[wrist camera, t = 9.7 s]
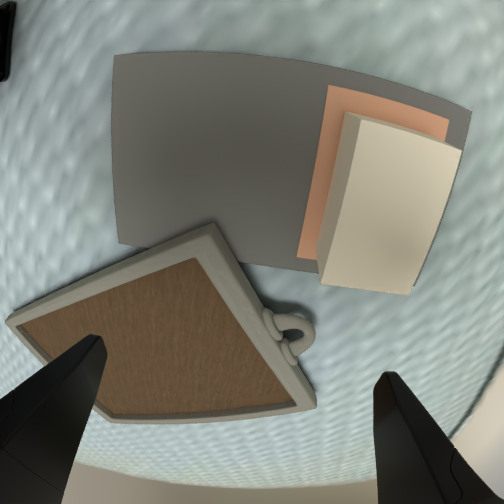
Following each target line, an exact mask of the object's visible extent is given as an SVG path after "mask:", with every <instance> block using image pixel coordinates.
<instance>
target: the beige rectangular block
mask: <svg viewBox="0 0 504 504" xmlns="http://www.w3.org/2000/svg"><path fill="white" fill-rule="evenodd" d="M461 152H462V150H460V149H458V148H456V147H454V146H452V145H450V144H448V143H446V142H444V141H442V140H440V139H438V138H436V137H433V136H431V135H429V134H426V133H423V132H420V131H416V130H413V129H410V128H407V127H404V126H400V125H397V124H393V123H390V122H386V121H383V120H379V119H375V118H371V117H368V116H364V115H360V114H355V113H351V112H347V111H345V114H344V120H343V125H342V130H341V135H340V140H339V146H338V150H337V155H336V160H335V165H334V170H333V174H332V179H331V183H330V188H329V192H328V197H327V201H326V206H325V210H324V214H323V218H322V223H321V227H320V231H319V235H318V239H317V243H316V247H315V249H316V256H317V263H318V270H319V277H320V284H326V285H333V286H341V287H348V288H355V289H363V290H370V291H378V292H385V293H393V294H401V295H409V293H410V291H411V289H412V287H413V284H414V282H415V280H416V278H417V276H418V273H419V271H420V269H421V267H422V264H423V262H424V260H425V257H426V255H427V253H428V250H429V248H430V245H431V243H432V240H433V238H434V235H435V232H436V230H437V227H438V225H439V222H440V219H441V216H442V214H443V211H444V208H445V205H446V202H447V199H448V196H449V193H450V190H451V187H452V184H453V180H454V177H455V174H456V170H457V167H458V163H459V160H460V156H461Z"/></svg>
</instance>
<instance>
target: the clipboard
mask: <svg viewBox="0 0 504 504" xmlns="http://www.w3.org/2000/svg"><path fill="white" fill-rule="evenodd" d="M5 323H6V324H7V326H8V327H9V328H10V329H11V330H12V332H13V333H14V334H15V335H16V336H17V337H18V338H19V340H20V341H21V342H22V343H23V344H24V345H25V346H26V347H27V348H28V349H29V350H30V352H31V353H32V354H33V355H34V356H35V357H36V358H37V359H38V360H39V361H40V362H41V363H42V364H43V365H44V366H45V365H47V364H48V363H50V362H51V361H52V360H54V359H55V358H56V357H58V356H59V355H60V354H62V353H63V352H65V351H66V350H67V349H69V348H70V347H71V346H73V345H74V344H76V343H77V342H78V341H80V340H81V339H83V338H84V337H85V336H87V335H88V334H96V335H100V336H101V337H102V338H103V341H104V344H105V346H106V349H107V353H108V356H107V361H106V364H105V368H104V371H103V375H102V379H101V382H100V386H99V390H98V393H97V397H96V400H95V402H94V405H93V408H92V409H93V410H94V411H96V412H97V413H98V414H99V415H101V416H102V417H103V418H105V419H106V420H107V421H109V422H110V423H120V424H194V423H211V422H224V421H235V420H245V419H254V418H262V417H269V416H276V415H283V414H289V413H295V412H301V411H306V410H311V409H315V408H316V407H317V397H316V394H315V392H314V391H313V389H312V387H311V386H310V384H309V382H308V381H307V379H306V377H305V376H304V374H303V372H302V371H301V369H300V367H299V366H298V364H297V363H298V357H297V356H298V355H299V354H301V353H303V352H304V351H306V350H307V349H308V348H309V347H310V346H311V345H312V344H313V342H314V340H315V334H316V333H315V329H314V326H313V325H312V324H311V322H309V321H308V320H307V319H305V318H303V317H301V316H298V315H294V314H281V313H280V314H274V313H273V312H272V311H271V310H270V309H268V308H264V307H263V305H262V303H261V302H260V300H259V298H258V296H257V295H256V293H255V291H254V290H253V288H252V286H251V285H250V283H249V281H248V279H247V278H246V276H245V274H244V272H243V271H242V269H241V267H240V266H239V264H238V262H237V260H236V259H235V257H234V255H233V253H232V252H231V250H230V248H229V247H228V245H227V243H226V241H225V240H224V238H223V236H222V234H221V233H220V231H219V229H218V228H217V226H216V225H215V223H211V224H208V225H205V226H203V227H200V228H198V229H195V230H193V231H190V232H188V233H186V234H183V235H181V236H178V237H176V238H174V239H171V240H169V241H167V242H164V243H162V244H160V245H157V246H155V247H153V248H150V249H148V250H146V251H144V252H141V253H139V254H137V255H134V256H132V257H130V258H128V259H125V260H123V261H121V262H119V263H116V264H114V265H112V266H110V267H107V268H105V269H103V270H101V271H99V272H97V273H94V274H92V275H90V276H88V277H86V278H83V279H81V280H79V281H77V282H75V283H73V284H71V285H69V286H66V287H64V288H62V289H60V290H58V291H56V292H54V293H52V294H50V295H48V296H46V297H44V298H41V299H39V300H37V301H35V302H33V303H31V304H29V305H27V306H25V307H23V308H21V309H19V310H17V311H15V312H13V313H11V314H10V315H9V316H8V318H7V319H6V320H5ZM292 328H296V329H300V330H302V331H303V333H304V335H303V336H302V337H301V338H299V339H296V340H293V341H289V340H288V339H286V338H283V330H287V329H292Z"/></svg>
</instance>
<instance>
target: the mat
mask: <svg viewBox="0 0 504 504" xmlns="http://www.w3.org/2000/svg"><path fill="white" fill-rule="evenodd" d="M345 111H347V112H351V113H355V114H360V115H364V116H368V117H371V118H375V119H379V120H383V121H386V122H390V123H393V124H397V125H400V126H404V127H407V128H410V129H413V130H416V131H420V132H423V133H426V134H429V135H431V136H433V137H436V138H438V139H440V140H442V141H444V142H446V143H448V144H450V145H452V146H454V147H456V148H458V149H460V150H462V152H461V156H460V160H459V163H458V167H457V170H456V174H455V177H454V180H453V184H452V187H451V190H450V193H449V196H448V199H447V202H446V205H445V208H444V211H443V214H442V216H441V219H440V222H439V225H438V227H437V230H436V232H435V235H434V238H433V240H432V243H431V245H430V248H429V250H428V253H427V255H426V257H425V260H424V262H423V264H422V267H421V269H420V271H419V273H418V276H417V278H416V280H415V282H414V284H413V286H414V287H415V284H416V282H417V280H418V278H419V276H420V273H421V271H422V269H423V266H424V264H425V262H426V259H427V257H428V254H429V252H430V250H431V247H432V245H433V242H434V239H435V237H436V234H437V232H438V229H439V226H440V224H441V221H442V218H443V215H444V212H445V210H446V207H447V204H448V201H449V198H450V195H451V191H452V188H453V185H454V182H455V178H456V175H457V172H458V168H459V165H460V161H461V157H462V153H463V150H464V146H465V141H466V137H467V133H468V129H469V124H470V119H471V114H472V111H469V110H467V109H465V108H463V107H460V106H458V105H455V104H453V103H451V102H448V101H446V100H443V99H441V98H438V97H435V96H433V95H430V94H427V93H424V92H422V91H419V90H416V89H413V88H410V87H407V86H404V85H401V84H398V83H394V82H391V81H388V80H384V79H381V78H377V77H373V76H370V75H366V74H362V73H358V72H354V71H350V70H345V69H341V68H336V67H332V66H327V65H321V64H316V63H311V62H305V61H299V60H292V59H285V58H278V57H270V56H260V55H250V54H238V53H221V52H153V53H136V54H124V55H114V64H113V81H112V113H111V137H112V170H113V188H114V202H115V213H116V224H117V233H118V242H119V244H125V245H131V246H138V247H144V248H153V247H155V246H157V245H160V244H162V243H164V242H167V241H169V240H171V239H174V238H176V237H178V236H181V235H183V234H186V233H188V232H190V231H193V230H195V229H198V228H200V227H203V226H205V225H208V224H211V223H215V225H216V226H217V228H218V229H219V231H220V233H221V234H222V236H223V238H224V240H225V241H226V243H227V245H228V247H229V248H230V250H231V252H232V253H233V255H234V257H235V259H236V260H237V262H242V263H249V264H256V265H263V266H270V267H276V268H283V269H290V270H297V271H304V272H311V273H318V274H319V270H318V263H317V256H316V249H315V247H316V243H317V239H318V235H319V231H320V227H321V223H322V218H323V214H324V210H325V206H326V201H327V197H328V192H329V188H330V183H331V179H332V174H333V170H334V165H335V160H336V155H337V150H338V146H339V140H340V135H341V130H342V125H343V120H344V114H345Z"/></svg>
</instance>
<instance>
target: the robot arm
mask: <svg viewBox="0 0 504 504" xmlns="http://www.w3.org/2000/svg"><path fill="white" fill-rule="evenodd" d="M15 6H16V3H15V2H14V1H9V2H7V3H5V4H3V5H1V6H0V82H3V81H6V80H7V78H8V75H9V57H10V45H11V34H12V26H13V19H14V12H15ZM107 356H108V353H107V349H106V346H105V344H104V341H103V338H102V337H101V336H100V335H96V334H88V335H87V336H85V337H84V338H83V339H81V340H80V341H78V342H77V343H76V344H74V345H73V346H71V347H70V348H69V349H67V350H66V351H65V352H63V353H62V354H60V355H59V356H58V357H56V358H55V359H54V360H52V361H51V362H50V363H48V364H47V365H45V366H44V367H43V368H41V369H40V370H39V371H37V372H36V373H35V374H33V375H32V376H31V377H29V378H28V379H27V380H25V381H24V382H23V383H21V384H20V385H19V386H17V387H16V388H15V389H14V390H12V391H10V392H9V393H8V394H7V395H5V396H4V397H2V398H1V399H0V504H61V502H62V499H63V495H64V491H65V488H66V484H67V481H68V478H69V474H70V471H71V468H72V465H73V462H74V459H75V456H76V453H77V450H78V447H79V444H80V441H81V438H82V435H83V432H84V429H85V427H86V424H87V421H88V418H89V416H90V413H91V410H92V408H93V405H94V402H95V400H96V397H97V393H98V390H99V386H100V382H101V379H102V375H103V371H104V368H105V364H106V361H107ZM373 434H374V446H375V457H376V471H377V486H378V504H504V500H503V499H501V498H500V497H498V496H497V495H496V494H495V493H494V492H493V491H492V490H491V489H490V488H489V487H488V486H487V485H486V484H485V482H484V481H482V479H481V478H480V477H479V476H478V475H477V474H476V473H475V472H474V470H473V469H472V468H471V467H470V466H469V465H468V464H467V462H466V461H465V460H464V458H463V457H462V456H461V454H460V453H459V452H458V450H457V449H456V448H454V445H453V444H452V443H451V441H450V440H449V439H448V437H447V436H446V435H445V433H444V432H443V431H442V429H441V428H440V427H439V425H438V424H437V423H436V422H435V420H434V419H433V418H432V416H431V415H430V414H429V413H428V411H427V410H426V409H425V407H424V406H423V405H422V404H421V402H420V401H419V400H418V399H417V397H416V396H415V395H414V393H413V392H412V391H411V390H410V388H409V387H408V386H407V385H406V383H405V382H404V381H403V380H402V378H401V377H400V376H399V375H398V374H397V373H396V372H394V371H386V372H384V373H383V374H382V375H381V377H380V378H379V380H378V381H377V383H376V384H375V386H374V390H373Z"/></svg>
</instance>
